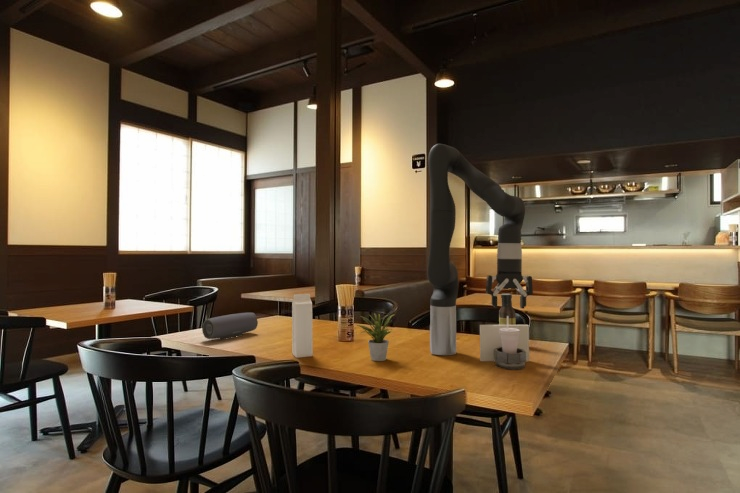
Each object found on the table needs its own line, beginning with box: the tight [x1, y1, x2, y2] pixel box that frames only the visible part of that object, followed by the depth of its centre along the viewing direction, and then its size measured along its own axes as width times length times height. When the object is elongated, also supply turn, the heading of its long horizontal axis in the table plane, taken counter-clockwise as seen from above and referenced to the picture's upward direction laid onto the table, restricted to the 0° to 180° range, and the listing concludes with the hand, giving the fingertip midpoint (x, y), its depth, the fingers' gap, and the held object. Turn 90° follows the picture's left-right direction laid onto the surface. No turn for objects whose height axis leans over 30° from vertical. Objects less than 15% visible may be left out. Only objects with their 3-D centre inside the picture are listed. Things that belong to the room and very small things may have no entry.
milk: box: [291, 293, 314, 359], centre depth 152 cm, size 6×6×22 cm
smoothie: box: [499, 316, 520, 353], centre depth 136 cm, size 6×6×14 cm
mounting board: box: [479, 324, 530, 362], centre depth 142 cm, size 16×1×12 cm, turn 87°
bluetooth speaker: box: [201, 312, 259, 340], centre depth 184 cm, size 23×9×10 cm, turn 145°
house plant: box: [356, 312, 396, 362], centre depth 146 cm, size 14×14×16 cm
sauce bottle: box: [498, 293, 517, 325], centre depth 166 cm, size 6×6×20 cm
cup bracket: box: [494, 347, 527, 371], centre depth 136 cm, size 9×10×5 cm
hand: (508, 307), depth 136 cm, fingers open, 8 cm apart
